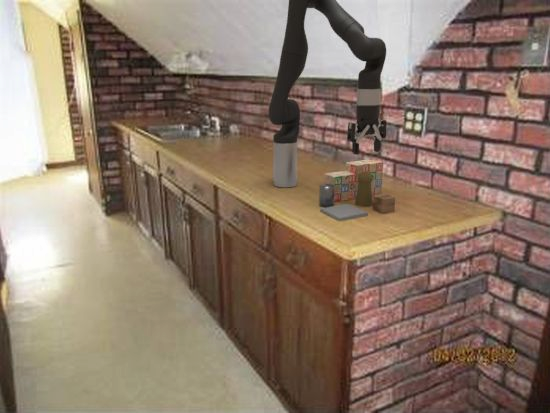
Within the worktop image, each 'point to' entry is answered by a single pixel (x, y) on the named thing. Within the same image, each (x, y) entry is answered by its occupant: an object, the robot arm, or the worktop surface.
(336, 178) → the stack of blocks
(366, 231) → the worktop surface
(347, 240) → the worktop surface
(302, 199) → the worktop surface
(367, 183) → the brown rounded figure
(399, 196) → the worktop surface
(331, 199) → the metal tin
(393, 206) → the walnut block
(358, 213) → the slate tile
